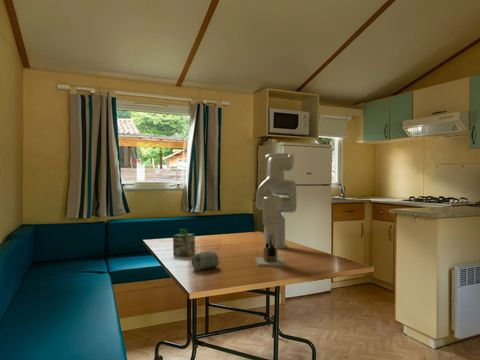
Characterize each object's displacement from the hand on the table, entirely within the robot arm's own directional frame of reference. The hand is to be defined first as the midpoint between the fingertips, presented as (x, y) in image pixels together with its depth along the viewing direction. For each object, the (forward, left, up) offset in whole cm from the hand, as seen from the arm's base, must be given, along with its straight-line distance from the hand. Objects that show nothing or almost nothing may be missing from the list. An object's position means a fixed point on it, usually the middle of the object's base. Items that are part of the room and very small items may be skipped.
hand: (270, 253), depth 176 cm
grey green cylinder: (+10, -33, -5) cm, 35 cm away
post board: (0, 0, -4) cm, 4 cm away
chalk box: (-22, -46, -5) cm, 51 cm away
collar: (0, 0, -3) cm, 3 cm away
